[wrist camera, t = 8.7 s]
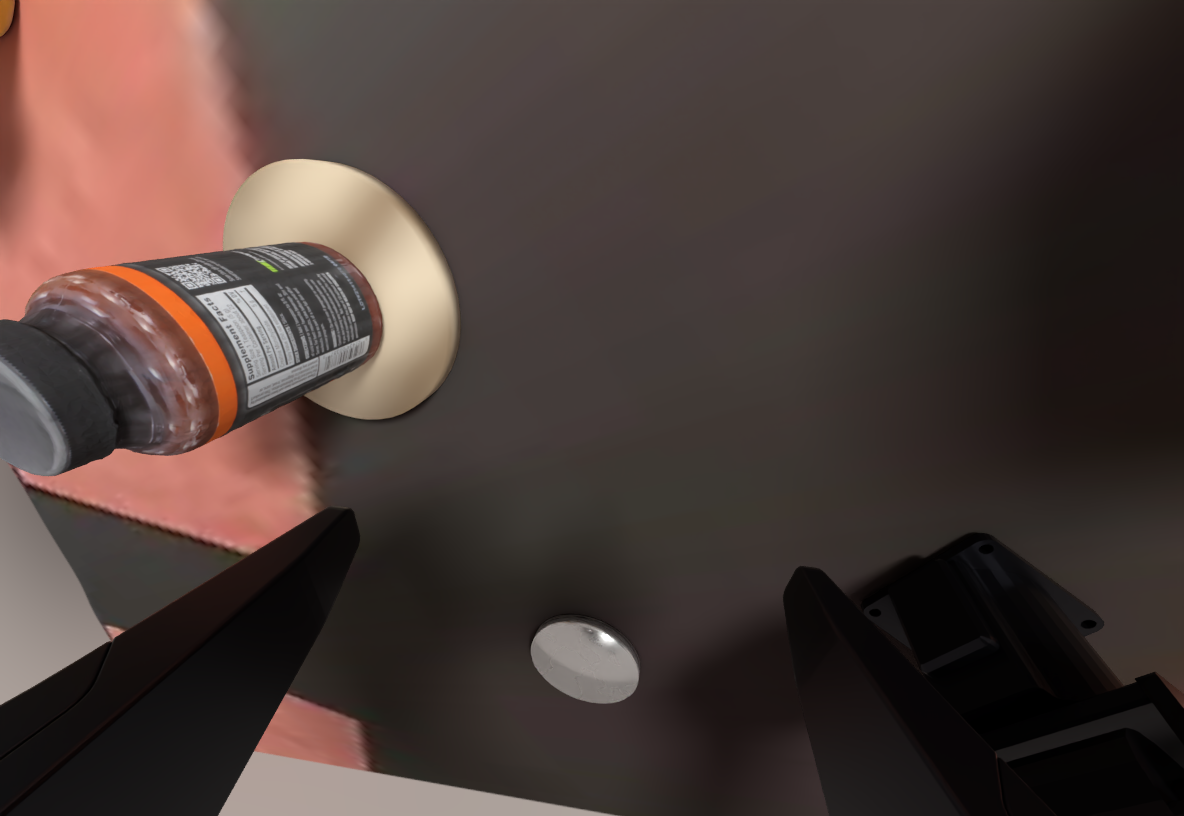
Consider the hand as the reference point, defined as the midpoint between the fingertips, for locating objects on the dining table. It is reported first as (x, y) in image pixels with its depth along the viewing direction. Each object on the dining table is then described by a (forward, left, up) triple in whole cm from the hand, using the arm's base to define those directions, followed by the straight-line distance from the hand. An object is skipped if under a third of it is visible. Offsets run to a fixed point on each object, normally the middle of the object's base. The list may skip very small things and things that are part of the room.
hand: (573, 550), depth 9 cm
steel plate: (-8, +19, -12) cm, 24 cm away
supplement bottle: (+13, +7, -11) cm, 18 cm away
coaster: (+14, +7, -12) cm, 19 cm away
